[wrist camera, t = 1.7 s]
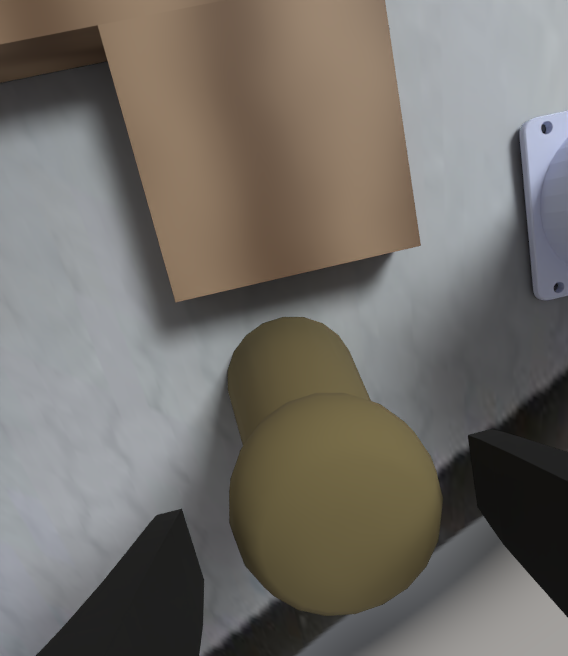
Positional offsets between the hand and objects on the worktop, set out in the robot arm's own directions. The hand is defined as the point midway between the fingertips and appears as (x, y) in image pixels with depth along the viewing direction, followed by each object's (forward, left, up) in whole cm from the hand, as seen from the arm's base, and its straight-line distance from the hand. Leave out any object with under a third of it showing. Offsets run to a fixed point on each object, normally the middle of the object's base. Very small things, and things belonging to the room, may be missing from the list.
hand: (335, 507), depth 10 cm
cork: (0, 0, -10) cm, 10 cm away
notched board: (+5, -11, -10) cm, 15 cm away
